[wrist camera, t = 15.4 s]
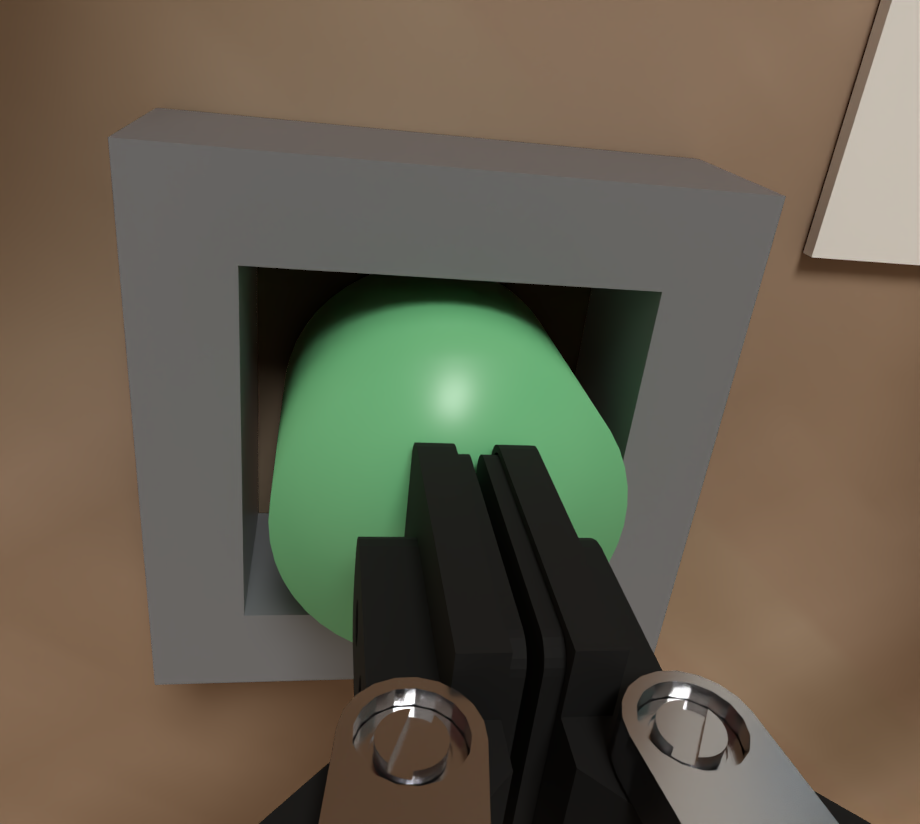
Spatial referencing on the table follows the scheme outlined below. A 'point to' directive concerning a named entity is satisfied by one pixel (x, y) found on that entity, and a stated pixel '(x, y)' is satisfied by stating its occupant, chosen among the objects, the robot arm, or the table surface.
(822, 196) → the drawing sheet
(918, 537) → the table surface
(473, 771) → the robot arm
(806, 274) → the table surface
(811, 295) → the table surface
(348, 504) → the button
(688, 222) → the button housing
